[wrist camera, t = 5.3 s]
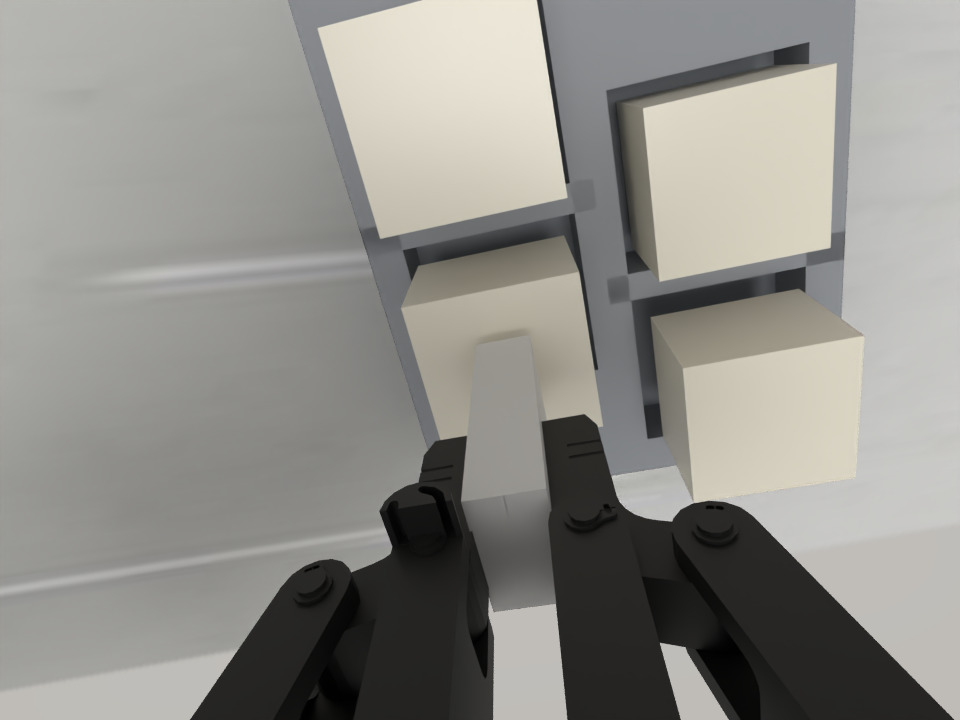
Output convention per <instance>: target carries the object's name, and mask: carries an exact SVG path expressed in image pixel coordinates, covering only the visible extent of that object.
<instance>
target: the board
mask: <svg viewBox="0 0 960 720" xmlns="http://www.w3.org/2000/svg"><path fill="white" fill-rule="evenodd" d="M417 1H421V0H288V2H289V5H290V9H291V12H292V15H293V18H294V21H295V25H296V28H297V31H298V34H299V37H300V41H301V44H302V47H303V50H304V53H305V57H306V60H307V63H308V66H309V69H310V73H311V76H312V79H313V82H314V85H315V89H316V92H317V95H318V98H319V101H320V105H321V108H322V111H323V114H324V117H325V121H326V124H327V127H328V130H329V133H330V137H331V140H332V143H333V146H334V149H335V153H336V156H337V159H338V162H339V165H340V169H341V172H342V175H343V178H344V181H345V185H346V188H347V191H348V194H349V198H350V201H351V204H352V207H353V210H354V214H355V217H356V220H357V223H358V226H359V230H360V233H361V236H362V239H363V242H364V246H365V249H366V252H367V255H368V258H369V262H370V265H371V268H372V271H373V274H374V278H375V281H376V284H377V287H378V290H379V294H380V297H381V300H382V303H383V306H384V310H385V313H386V316H387V319H388V322H389V326H390V329H391V332H392V335H393V338H394V342H395V345H396V348H397V351H398V354H399V358H400V361H401V364H402V367H403V370H404V374H405V377H406V380H407V383H408V386H409V390H410V393H411V396H412V399H413V402H414V406H415V409H416V412H417V415H418V419H419V422H420V425H421V428H422V431H423V435H424V438H425V441H426V444H427V447H428V450H429V449H430V447H431V446H432V445H433V443H434V442H435V441H439V440H440V437H439V434H438V430H437V427H436V424H435V420H434V417H433V413H432V410H431V407H430V403H429V400H428V397H427V393H426V390H425V387H424V383H423V380H422V377H421V373H420V370H419V367H418V363H417V360H416V357H415V353H414V350H413V347H412V343H411V340H410V337H409V333H408V330H407V327H406V323H405V320H404V316H403V313H402V310H401V307H402V304H403V302H404V300H405V297H406V295H407V292H408V290H409V287H410V285H411V282H412V280H413V278H414V275H415V273H416V270H417V268H418V266H421V265H426V264H430V263H435V262H440V261H445V260H449V259H454V258H459V257H463V256H468V255H473V254H478V253H482V252H487V251H492V250H497V249H501V248H506V247H511V246H515V245H520V244H525V243H530V242H534V241H539V240H544V239H549V238H553V237H558V236H563V235H564V237H565V239H566V241H567V244H568V246H569V249H570V251H571V254H572V256H573V258H574V261H575V263H576V266H577V268H578V270H579V274H580V281H581V287H582V294H583V300H584V307H585V313H586V319H587V326H588V332H589V339H590V345H591V351H592V358H593V364H594V371H595V377H596V384H597V390H598V396H599V403H600V409H601V416H602V422H603V427H598V430H599V433H600V437H601V441H602V444H603V448H604V452H605V455H606V459H607V463H608V466H609V470H610V474H611V476H613V475H619V474H625V473H631V472H637V471H644V470H650V469H656V468H662V467H668V466H675V465H676V462H675V460H674V458H673V456H672V454H671V452H670V449H669V447H668V445H667V443H666V441H665V439H664V436H663V431H662V422H661V412H660V403H659V393H658V384H657V374H656V365H655V355H654V346H653V336H652V327H651V317H654V316H659V315H664V314H669V313H674V312H680V311H685V310H690V309H695V308H701V307H706V306H711V305H716V304H721V303H727V302H732V301H737V300H742V299H748V298H753V297H758V296H763V295H768V294H774V293H779V292H784V291H789V290H794V289H800V290H801V291H803V292H804V293H806V294H807V295H808V296H810V297H811V298H813V299H814V300H815V301H817V302H818V303H820V304H821V305H822V306H824V307H825V308H827V309H828V310H829V311H831V312H832V313H834V314H835V315H836V316H838V317H839V318H841V314H842V291H843V269H844V247H845V224H846V202H847V179H848V157H849V134H850V112H851V90H852V67H853V45H854V22H855V0H537V5H538V11H539V18H540V24H541V30H542V37H543V43H544V50H545V56H546V63H547V69H548V75H549V82H550V88H551V95H552V101H553V108H554V114H555V120H556V127H557V133H558V140H559V146H560V152H561V159H562V165H563V172H564V178H565V185H566V191H567V197H568V198H565V199H560V200H556V201H551V202H547V203H542V204H538V205H533V206H528V207H524V208H519V209H515V210H510V211H506V212H501V213H496V214H492V215H487V216H483V217H478V218H474V219H469V220H464V221H460V222H455V223H451V224H446V225H442V226H437V227H432V228H428V229H423V230H419V231H414V232H410V233H405V234H400V235H396V236H391V237H387V238H382V239H380V236H379V233H378V230H377V226H376V223H375V219H374V216H373V213H372V209H371V206H370V203H369V199H368V196H367V193H366V189H365V186H364V183H363V179H362V176H361V173H360V169H359V166H358V163H357V159H356V156H355V153H354V149H353V146H352V143H351V139H350V136H349V133H348V129H347V126H346V123H345V119H344V116H343V112H342V109H341V106H340V102H339V99H338V96H337V92H336V89H335V86H334V82H333V79H332V76H331V72H330V69H329V66H328V62H327V59H326V56H325V52H324V49H323V46H322V42H321V39H320V36H319V32H318V29H317V28H320V27H324V26H327V25H331V24H335V23H339V22H342V21H346V20H350V19H354V18H357V17H361V16H365V15H369V14H372V13H376V12H380V11H384V10H387V9H391V8H395V7H399V6H402V5H406V4H410V3H414V2H417ZM825 63H837V74H836V103H835V132H834V161H833V191H832V220H831V248H827V249H822V250H817V251H812V252H807V253H802V254H797V255H792V256H787V257H782V258H777V259H772V260H767V261H762V262H757V263H752V264H747V265H742V266H737V267H731V268H726V269H721V270H716V271H711V272H706V273H701V274H696V275H691V276H686V277H681V278H676V279H671V280H666V281H661V282H659V280H658V279H657V278H656V277H655V275H654V274H653V273H652V272H651V270H650V269H649V268H648V266H647V265H646V264H645V263H644V261H643V260H642V259H641V257H640V256H639V255H638V254H637V252H636V251H635V250H634V248H633V247H632V239H631V230H630V221H629V212H628V203H627V194H626V186H625V177H624V168H623V159H622V150H621V141H620V133H619V124H618V115H617V106H616V102H618V101H622V100H626V99H631V98H635V97H639V96H643V95H648V94H652V93H656V92H660V91H665V90H669V89H673V88H677V87H682V86H686V85H690V84H694V83H699V82H703V81H707V80H711V79H716V78H720V77H724V76H728V75H732V74H737V73H741V72H745V71H749V70H754V69H758V68H762V67H766V66H771V65H792V64H825Z"/></svg>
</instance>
